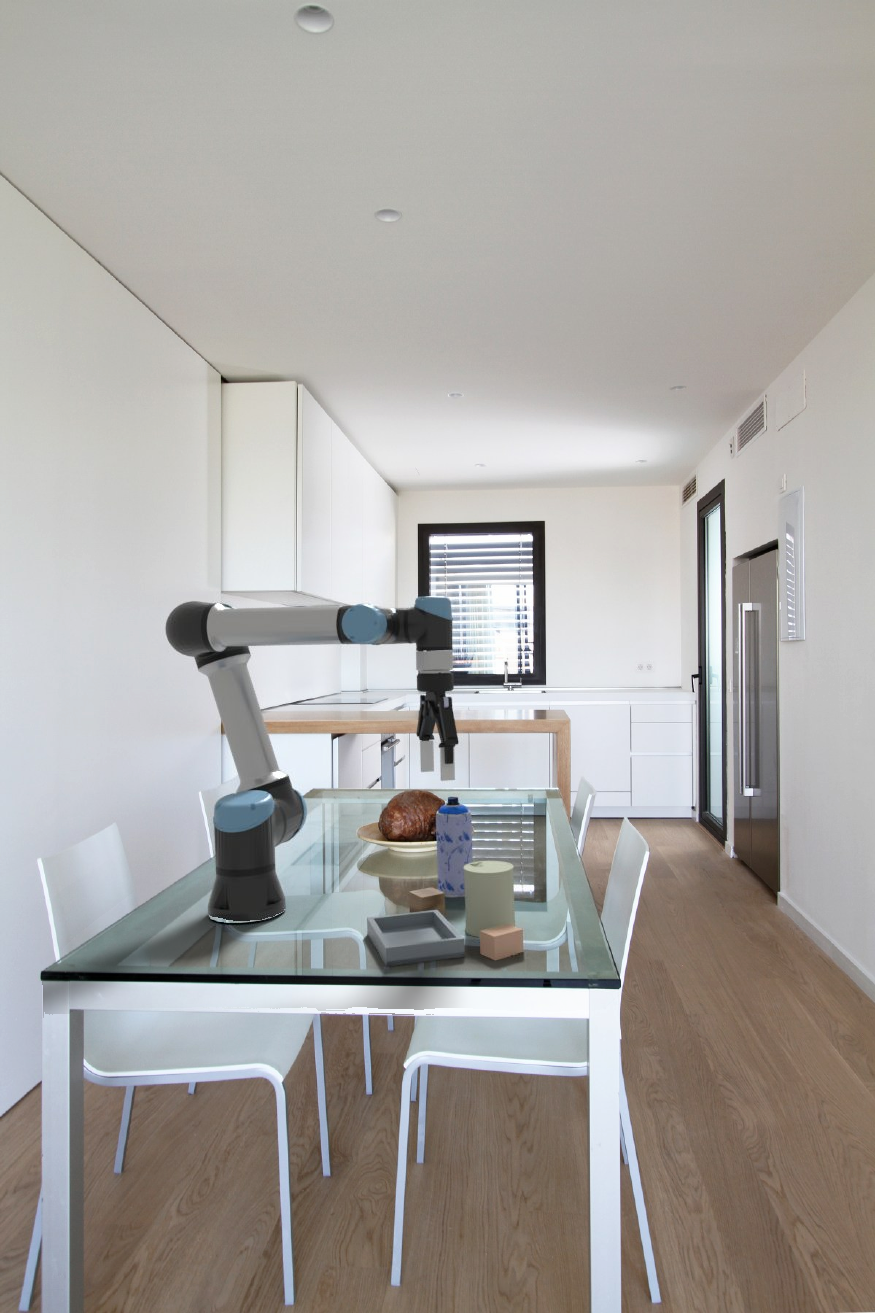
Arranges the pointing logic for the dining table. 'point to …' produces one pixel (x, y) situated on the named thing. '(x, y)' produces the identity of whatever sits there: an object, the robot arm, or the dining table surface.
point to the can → (488, 895)
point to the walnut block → (427, 900)
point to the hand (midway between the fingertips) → (437, 775)
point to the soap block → (501, 941)
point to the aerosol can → (453, 846)
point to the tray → (414, 937)
